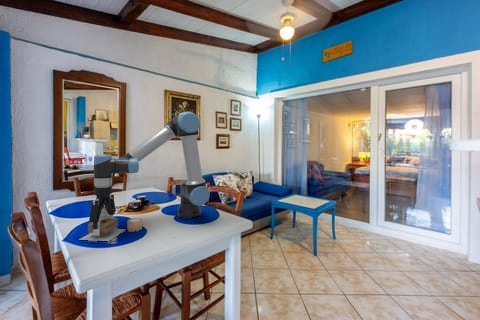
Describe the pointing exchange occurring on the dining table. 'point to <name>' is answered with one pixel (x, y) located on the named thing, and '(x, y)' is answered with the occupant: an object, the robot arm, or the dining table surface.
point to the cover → (104, 225)
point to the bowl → (134, 224)
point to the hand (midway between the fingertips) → (103, 231)
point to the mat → (103, 235)
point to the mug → (104, 213)
